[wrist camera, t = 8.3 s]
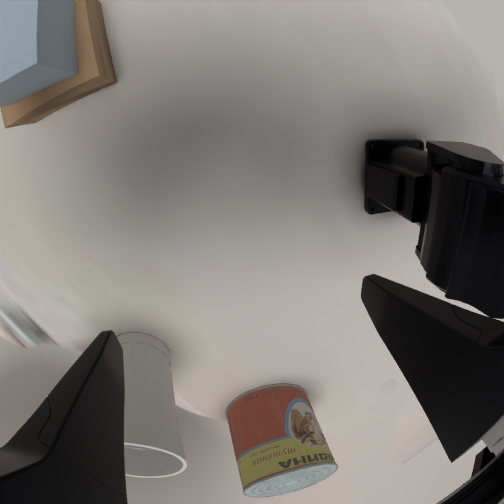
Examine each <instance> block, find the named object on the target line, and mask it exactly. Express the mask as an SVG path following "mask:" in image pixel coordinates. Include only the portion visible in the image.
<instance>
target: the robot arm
mask: <svg viewBox="0 0 504 504" xmlns="http://www.w3.org/2000/svg"><path fill="white" fill-rule="evenodd" d="M371 144H373V148H371ZM418 145H419V147H418ZM426 148H427V152H425V151H424V143H423V142H422V141H421V140H413V139H376V140H368V141H367V143H366V166H365V211H366V212H367V213H368V214H377V213H383V212H389V211H393V212H396V213H398V214H399V215H401V216H402V217H404V218H406V219H407V220H409V221H410V222H412V223H416V224H417V225H419V226H420V234H419V240H418V245H417V246H416V250H415V253H416V255H417V256H418V258H419V260H420V263H421V265H422V266H423V268H424V270H425V271H426V278H427V279H428V280H429V281H430V282H431V283H433V284H434V285H435V286H436V287H438V288H439V289H440V290H441V291H443V292H445V297H446V298H448V299H453V300H458V301H461V302H464V303H466V304H469V305H471V306H473V307H475V308H476V309H478V310H479V311H481V312H483V313H484V314H486V315H487V316H489V317H487V316H484V315H480V314H477V313H474V312H471V311H469V310H466V309H463V308H461V307H458V306H456V305H453V304H452V305H451V303H448V302H446V301H443V300H441V299H438V298H435V297H433V296H430V295H428V294H425V293H423V292H420V291H417V290H415V289H412V288H410V287H407V286H404V285H402V284H399V283H396V282H394V281H391V280H389V279H386V278H383V277H381V276H378V275H375V274H371V275H368V276H365V277H364V278H363V282H362V290H361V299H362V302H363V304H364V306H365V308H366V310H367V312H368V314H369V316H370V318H371V320H372V322H373V324H374V326H375V328H376V330H377V332H378V333H379V335H380V337H381V338H382V340H383V342H384V343H385V345H386V346H387V348H388V350H389V351H390V353H391V355H392V356H393V358H394V360H395V361H396V363H397V365H398V366H399V368H400V370H401V371H402V373H403V375H404V376H405V378H406V380H407V381H408V383H409V385H410V387H411V388H412V390H413V392H414V394H415V395H416V397H417V399H418V401H419V403H420V404H421V406H422V408H423V410H424V412H425V413H426V415H427V417H428V419H429V421H430V423H431V425H432V427H433V429H434V430H435V432H436V434H437V436H438V438H439V440H440V442H441V444H442V446H443V448H444V450H445V451H446V454H447V456H448V458H449V459H450V461H451V463H452V462H453V461H455V460H456V459H458V458H459V457H460V456H462V455H463V454H464V453H465V452H467V451H468V450H469V449H471V448H472V447H473V446H474V445H475V444H477V443H478V442H479V441H480V440H481V439H482V440H483V441H484V443H485V444H486V447H485V448H484V449H483V450H482V451H481V452H479V453H478V454H477V455H476V458H475V463H474V468H473V472H472V476H471V479H470V480H468V481H467V482H466V483H464V484H463V485H462V486H461V487H459V488H458V489H456V490H455V491H454V492H453V493H451V494H450V495H448V496H447V497H445V498H444V499H443V500H441V501H440V502H438V503H437V504H504V322H502V321H499V320H496V319H493V318H498V319H504V162H503V161H502V160H500V159H499V158H498V157H497V156H496V155H494V154H493V153H492V152H491V151H489V150H488V149H486V148H482V147H479V146H475V145H471V144H467V143H462V142H447V141H426ZM370 207H372V209H371V210H370ZM124 405H125V380H124V360H123V349H122V346H121V344H120V342H119V341H118V339H117V337H116V335H115V333H114V332H113V331H112V330H108V331H103V332H101V333H100V334H99V335H98V336H97V337H96V338H95V340H94V341H93V342H92V343H91V344H90V345H89V347H88V348H87V349H86V350H85V351H84V352H83V354H82V355H81V356H80V357H79V358H78V360H77V361H76V362H75V363H74V364H73V365H72V367H71V368H70V369H69V370H68V372H67V373H66V374H65V375H64V376H63V377H62V379H61V380H60V381H59V382H58V384H57V385H56V386H55V387H54V389H53V390H52V391H51V393H50V394H49V395H48V397H46V399H45V400H44V401H43V403H42V404H41V405H40V406H39V407H38V409H37V410H36V411H35V412H34V414H33V415H32V416H31V417H30V418H29V419H28V420H27V422H26V423H25V424H24V425H23V426H22V427H21V428H20V429H19V430H18V431H17V433H16V434H15V435H14V436H13V437H12V438H11V439H10V440H9V442H8V443H7V444H6V445H4V446H3V447H1V448H0V504H127V497H126V496H127V494H126V480H125V459H124Z"/></svg>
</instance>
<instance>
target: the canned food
mask: <svg viewBox="0 0 504 504" xmlns="http://www.w3.org/2000/svg"><path fill="white" fill-rule="evenodd" d="M226 417H227V419H228V424H229V428H230V433H231V438H232V443H233V447H234V452H235V456H236V461H237V465H238V470H239V474H240V478H241V482H242V486H243V494H244V495H246V496H249V497H270V496H276V495H282V494H286V493H290V492H294V491H297V490H300V489H303V488H306V487H309V486H311V485H313V484H316V483H318V482H320V481H322V480H324V479H326V478H327V477H329V476H330V475H332V474H333V473H334V472H335V471H336V470H337V469H338V465H337V464H336V463H335V460H334V458H333V456H332V453H331V451H330V449H329V447H328V444H327V442H326V439H325V437H324V435H323V433H322V430H321V428H320V426H319V423H318V421H317V419H316V416H315V414H314V412H313V409H312V407H311V405H310V402H309V400H308V398H307V393H306V392H305V390H304V389H303V388H301V387H299V386H297V385H293V384H272V385H267V386H262V387H259V388H256V389H253V390H250V391H248V392H246V393H244V394H242V395H240V396H239V397H237V398H236V399H235V400H233V401H232V402H231V403H230V405H229V406H228V408H227V410H226Z"/></svg>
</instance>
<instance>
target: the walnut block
mask: <svg viewBox="0 0 504 504" xmlns="http://www.w3.org/2000/svg"><path fill="white" fill-rule="evenodd" d="M72 1H73V2H74V3H75V34H76V55H77V68H78V75H75V76H73V77H70V78H68V79H65V80H63V81H60V82H58V83H56V84H53V85H51V86H49V87H46V88H44V89H42V90H40V91H38V92H36V93H34V94H32V95H29V96H27V97H25V98H24V99H22V100H20V101H18V102H16V103H14V104H12V105H10V106H0V107H1V112H2V117H3V121H4V125H5V128H9V127H14V126H20V125H25V124H31V123H36V122H38V121H39V120H41V119H43V118H44V117H46V116H48V115H50V114H52V113H53V112H55V111H57V110H59V109H61V108H63V107H65V106H67V105H69V104H71V103H73V102H75V101H77V100H79V99H81V98H83V97H85V96H87V95H89V94H91V93H94V92H96V91H98V90H100V89H103V88H105V87H107V86H110V85H112V84H115V83H117V80H116V76H115V72H114V67H113V63H112V58H111V54H110V49H109V44H108V40H107V35H106V29H105V24H104V19H103V13H102V7H101V3H100V2H99V1H98V0H72Z"/></svg>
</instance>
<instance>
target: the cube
mask: <svg viewBox="0 0 504 504" xmlns="http://www.w3.org/2000/svg"><path fill="white" fill-rule="evenodd" d="M75 75H78V68H77V55H76V34H75V3H74V2H73V1H72V0H0V106H10V105H12V104H14V103H16V102H18V101H20V100H22V99H24V98H25V97H27V96H29V95H32V94H34V93H36V92H38V91H40V90H42V89H44V88H46V87H49V86H51V85H53V84H56V83H58V82H60V81H63V80H65V79H68V78H70V77H73V76H75Z"/></svg>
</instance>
